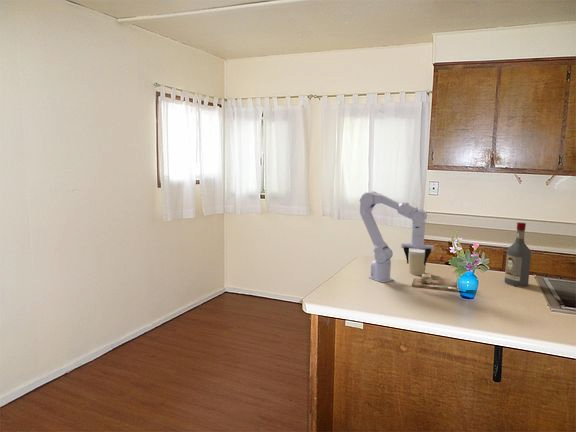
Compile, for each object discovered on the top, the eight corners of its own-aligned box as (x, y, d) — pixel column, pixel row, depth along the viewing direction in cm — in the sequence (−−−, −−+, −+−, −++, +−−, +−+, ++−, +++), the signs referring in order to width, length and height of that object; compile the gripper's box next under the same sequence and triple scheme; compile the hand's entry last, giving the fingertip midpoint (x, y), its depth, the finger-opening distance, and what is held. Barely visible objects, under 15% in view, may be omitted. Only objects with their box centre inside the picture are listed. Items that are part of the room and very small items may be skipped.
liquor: (515, 280, 219) (521, 221, 215) (531, 285, 211) (536, 224, 207) (501, 282, 216) (506, 221, 212) (516, 287, 208) (521, 224, 204)
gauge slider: (420, 284, 205) (421, 277, 205) (422, 279, 212) (422, 273, 212) (429, 285, 204) (430, 278, 203) (430, 280, 211) (431, 274, 211)
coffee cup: (428, 275, 226) (429, 252, 224) (410, 275, 226) (411, 252, 224) (423, 271, 235) (424, 249, 233) (405, 270, 235) (406, 248, 233)
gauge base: (411, 286, 206) (412, 276, 205) (414, 279, 217) (414, 270, 217) (466, 292, 198) (467, 282, 197) (466, 285, 209) (466, 275, 208)
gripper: (402, 236, 203) (400, 264, 205) (434, 238, 200) (432, 267, 202) (402, 233, 210) (400, 261, 212) (433, 235, 207) (431, 263, 208)
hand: (416, 263), depth 207 cm, fingers open, 7 cm apart
